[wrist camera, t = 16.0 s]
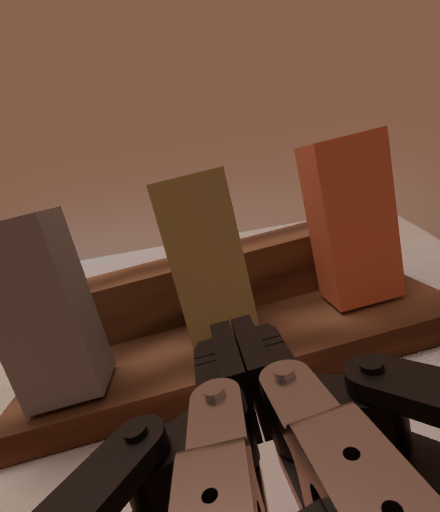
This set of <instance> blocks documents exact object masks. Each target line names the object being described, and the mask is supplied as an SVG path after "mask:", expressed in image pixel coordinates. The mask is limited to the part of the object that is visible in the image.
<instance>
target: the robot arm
mask: <svg viewBox="0 0 440 512" xmlns="http://www.w3.org/2000/svg"><path fill="white" fill-rule="evenodd" d="M230 321H231V325H232V329H233V332H232V329H231V326H230V323H229V320H226V321H223V322H219V323H215V324H212V325H210V330H211V336H212V338H211V339H207V340H204V341H200V342H198V344H197V345H196V347H195V349H194V350H193V351H194V366H195V367H194V368H195V385H196V389H195V390H194V391H193V392H192V394H191V396H190V400H189V409H188V410H187V411H186V412H184V413H183V414H182V415H180V416H179V417H177V418H175V419H173V420H171V421H170V422H168V423H166V424H164V423H163V420H162V419H161V418H160V417H159V416H156V415H152V414H147V415H141V416H138V417H135V418H133V419H130V420H129V421H127V422H125V423H124V424H122V425H121V426H120V427H119V428H118V429H117V430H116V431H115V432H114V433H113V434H111V435H110V436H109V437H108V438H107V439H106V440H105V441H104V442H103V443H102V444H101V445H100V446H99V447H98V448H97V449H96V450H95V451H94V452H93V453H92V454H91V455H90V456H89V457H88V458H87V459H86V460H85V461H84V462H82V463H81V464H80V465H79V466H78V467H77V468H76V469H75V470H74V471H73V472H72V473H71V474H70V475H69V476H68V477H67V478H66V479H65V480H64V481H63V482H62V483H61V484H60V485H59V486H58V487H57V488H56V489H55V490H53V491H52V492H51V493H50V494H49V495H48V496H47V497H46V498H45V499H44V500H43V501H42V502H41V503H40V504H39V505H38V506H37V507H36V508H35V509H34V510H33V511H32V512H121V511H122V509H123V508H124V507H125V506H126V504H127V503H128V502H130V505H131V508H132V510H133V511H132V512H269V510H268V505H267V499H266V493H265V488H264V482H263V476H262V471H261V467H260V463H259V461H260V453H259V449H258V445H257V444H260V443H263V439H262V435H261V432H260V428H259V424H258V420H257V416H258V419H259V423H260V426H261V429H262V432H263V435H264V439H265V442H267V441H270V440H273V441H274V444H275V447H276V450H277V455H278V459H279V463H280V466H281V468H282V470H283V472H284V475H285V477H286V479H287V481H288V484H289V486H290V488H291V491H292V493H293V495H294V497H295V500H296V502H297V504H298V506H299V509H300V511H298V512H440V442H439V441H436V440H433V439H430V438H428V437H425V436H422V435H419V434H416V433H414V432H411V429H410V421H409V418H410V419H413V420H416V421H419V422H422V423H425V424H428V425H431V426H434V427H437V428H440V367H438V366H433V365H429V364H424V363H420V362H415V361H411V360H406V359H401V358H397V357H392V356H388V355H383V354H377V353H366V354H360V355H357V356H354V357H352V358H350V359H348V360H347V361H346V362H345V364H344V366H343V374H316V373H313V372H312V370H311V369H310V368H309V367H308V366H307V365H306V364H305V363H303V362H301V361H297V360H296V358H295V357H294V355H293V354H292V352H291V351H290V349H289V347H288V346H287V344H286V343H285V342H284V339H283V338H282V336H281V335H280V333H279V331H278V330H277V328H276V327H274V326H272V325H270V324H268V323H265V324H262V325H258V326H255V325H254V323H253V321H252V319H251V317H250V315H249V314H248V315H244V316H241V317H237V318H233V319H230ZM233 333H234V335H233ZM234 337H235V338H234ZM254 407H255V408H254ZM255 410H256V412H255ZM256 413H257V416H256Z"/></svg>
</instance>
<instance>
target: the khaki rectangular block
mask: <svg viewBox="0 0 440 512" xmlns="http://www.w3.org/2000/svg"><path fill="white" fill-rule="evenodd" d="M147 189H148V192H149V196H150V199H151V203H152V206H153V209H154V213H155V216H156V220H157V224H158V227H159V231H160V234H161V238H162V241H163V245H164V248H165V252H166V255H167V259H168V262H169V266H170V269H171V273H172V276H173V280H174V283H175V287H176V290H177V294H178V297H179V301H180V304H181V308H182V311H183V315H184V318H185V322H186V325H187V329H188V332H189V336H190V339H191V343H192V346H193V349H195V347H196V345H197V344H198V342H200V341H204V340H207V339H211V338H212V336H211V330H210V325H212V324H215V323H219V322H223V321H226V320H229V323H230V326H231V329H232V325H231V321H230V319H233V318H237V317H241V316H244V315H248V314H249V315H250V317H251V319H252V321H253V323H254V325H255V326H258V325H259V320H258V316H257V311H256V307H255V303H254V298H253V294H252V290H251V285H250V281H249V277H248V272H247V268H246V263H245V259H244V255H243V250H242V246H241V242H240V237H239V233H238V229H237V224H236V220H235V215H234V211H233V207H232V203H231V198H230V194H229V190H228V185H227V181H226V176H225V172H224V168H223V166H222V167H218V168H214V169H210V170H206V171H202V172H197V173H194V174H189V175H185V176H181V177H177V178H174V179H169V180H165V181H161V182H157V183H153V184H149V185H147ZM232 332H233V329H232ZM233 335H234V333H233ZM234 338H235V337H234Z"/></svg>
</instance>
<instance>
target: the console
mask: <svg viewBox="0 0 440 512" xmlns="http://www.w3.org/2000/svg"><path fill="white" fill-rule="evenodd" d="M240 242H241V246H242V250H243V255H244V259H245V263H246V268H247V272H248V277H249V281H250V285H251V290H252V294H253V298H254V303H255V307H256V311H257V316H258V320H259V325H262V324H265V323H268V324H270V325H272V326H274V327H276V328H277V330H278V331H279V333H280V335H281V336H282V338H283V339H284V342H285V343H286V344H287V346H288V347H289V349H290V351H291V352H292V354H293V355H294V357H295V358H296V360H297V361H301V362H303V363H305V364H306V365H307V366H308V367H309V368H310V369H311V370H312V372H313V373H316V374H340V373H343V366H344V364H345V362H346V361H347V360H348V359H350V358H352V357H354V356H357V355H360V354H366V353H377V354H383V355H388V356H392V357H401V356H404V355H408V354H411V353H415V352H418V351H422V350H426V349H429V348H433V347H436V346H440V290H437V289H435V288H433V287H431V286H428V285H426V284H424V283H421V282H419V281H417V280H415V279H412V278H410V277H408V276H406V275H404V280H405V289H406V295H404V296H400V297H396V298H393V299H389V300H385V301H382V302H378V303H374V304H371V305H367V306H363V307H360V308H356V309H352V310H349V311H345V312H340V311H339V310H338V309H337V308H335V307H334V306H333V305H332V304H331V303H330V302H328V301H327V300H326V299H325V298H324V297H323V296H321V295H320V291H319V286H318V280H317V275H316V269H315V263H314V258H313V252H312V246H311V241H310V235H309V229H308V224H307V222H304V223H300V224H296V225H293V226H289V227H285V228H281V229H277V230H273V231H269V232H265V233H261V234H258V235H254V236H250V237H246V238H242V239H240ZM86 280H87V283H88V286H89V288H90V291H91V294H92V297H93V300H94V303H95V305H96V308H97V311H98V314H99V317H100V320H101V322H102V325H103V328H104V331H105V334H106V337H107V340H108V342H109V345H110V348H111V351H112V354H113V357H114V359H115V362H116V364H115V367H114V370H113V372H112V375H111V378H110V380H109V383H108V386H107V389H106V391H105V394H104V396H103V397H99V398H95V399H92V400H88V401H84V402H81V403H77V404H73V405H70V406H66V407H63V408H59V409H55V410H52V411H48V412H44V413H41V414H37V415H33V416H30V417H26V418H25V415H24V413H23V411H22V409H21V406H20V404H19V402H18V400H17V397H16V396H15V398H14V399H13V400H12V402H11V403H10V404H9V405H8V407H7V408H6V409H5V411H4V412H3V413H2V415H1V416H0V468H4V467H8V466H11V465H15V464H18V463H22V462H25V461H29V460H33V459H36V458H40V457H43V456H47V455H50V454H54V453H58V452H61V451H65V450H68V449H72V448H75V447H79V446H83V445H86V444H90V443H93V442H97V441H100V440H104V439H107V438H108V437H109V436H110V435H111V434H113V433H114V432H115V431H116V430H117V429H118V428H119V427H120V426H121V425H122V424H124V423H125V422H127V421H129V420H130V419H133V418H135V417H138V416H141V415H147V414H152V415H156V416H159V417H160V418H161V419H162V420H163V423H165V422H168V421H171V420H173V419H175V418H177V417H179V416H180V415H182V414H183V413H184V412H186V411H187V410H188V409H189V400H190V396H191V394H192V392H193V391H194V390H195V389H196V385H195V368H194V367H195V366H194V351H193V350H194V349H193V346H192V343H191V339H190V336H189V332H188V329H187V325H186V322H185V318H184V315H183V311H182V308H181V304H180V301H179V297H178V294H177V290H176V287H175V283H174V280H173V276H172V273H171V269H170V266H169V262H168V259H167V258H164V259H160V260H157V261H153V262H149V263H145V264H141V265H137V266H133V267H129V268H125V269H122V270H118V271H114V272H110V273H106V274H102V275H98V276H94V277H91V278H87V279H86Z"/></svg>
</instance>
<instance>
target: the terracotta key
mask: <svg viewBox="0 0 440 512" xmlns="http://www.w3.org/2000/svg"><path fill="white" fill-rule="evenodd" d="M387 129H388V128H387V126H384V127H380V128H376V129H372V130H368V131H364V132H360V133H356V134H352V135H348V136H343V137H340V138H335V139H331V140H327V141H323V142H319V143H315V144H311V145H308V146H303V147H300V148H296V149H294V151H295V156H296V162H297V168H298V173H299V179H300V184H301V190H302V196H303V201H304V206H305V213H306V218H307V224H308V229H309V235H310V241H311V246H312V252H313V258H314V263H315V269H316V275H317V280H318V286H319V291H320V295H321V296H323V297H324V298H325V299H326V300H327V301H328V302H330V303H331V304H332V305H333V306H334V307H335V308H337V309H338V310H339V311H340V312H345V311H349V310H352V309H356V308H360V307H363V306H367V305H371V304H374V303H378V302H382V301H385V300H389V299H393V298H396V297H400V296H404V295H406V289H405V280H404V271H403V263H402V254H401V245H400V236H399V227H398V218H397V209H396V200H395V191H394V182H393V174H392V165H391V155H390V146H389V137H388V130H387Z"/></svg>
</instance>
